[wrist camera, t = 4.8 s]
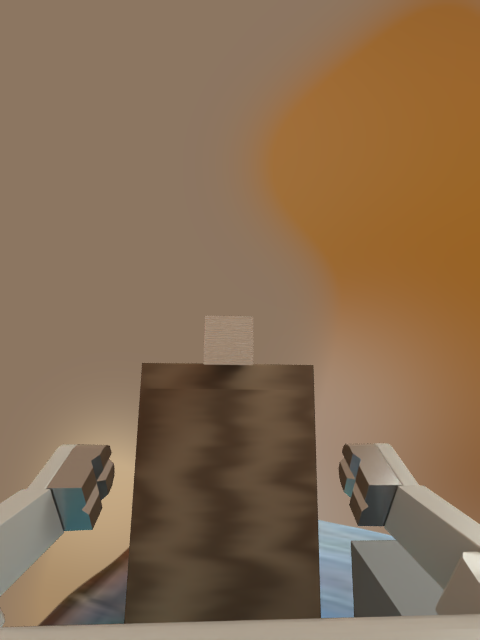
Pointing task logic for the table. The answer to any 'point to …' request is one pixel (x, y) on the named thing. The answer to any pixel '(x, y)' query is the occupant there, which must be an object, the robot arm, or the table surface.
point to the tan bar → (228, 340)
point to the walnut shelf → (224, 495)
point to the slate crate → (390, 581)
